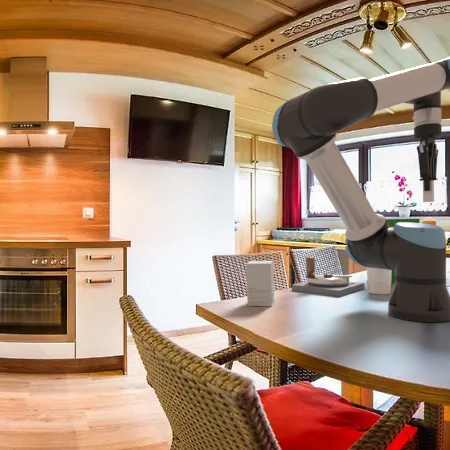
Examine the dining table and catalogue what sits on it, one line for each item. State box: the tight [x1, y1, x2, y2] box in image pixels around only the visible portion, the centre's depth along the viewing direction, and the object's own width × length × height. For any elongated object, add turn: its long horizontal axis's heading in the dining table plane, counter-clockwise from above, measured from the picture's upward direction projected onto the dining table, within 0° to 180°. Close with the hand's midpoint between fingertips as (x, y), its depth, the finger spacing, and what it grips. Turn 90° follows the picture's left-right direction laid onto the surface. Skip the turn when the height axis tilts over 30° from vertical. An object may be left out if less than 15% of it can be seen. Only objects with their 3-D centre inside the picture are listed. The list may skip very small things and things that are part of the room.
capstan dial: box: [305, 256, 353, 286], centre depth 136 cm, size 16×14×9 cm
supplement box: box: [245, 260, 275, 307], centre depth 116 cm, size 7×7×13 cm
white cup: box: [366, 267, 392, 295], centre depth 129 cm, size 8×8×10 cm
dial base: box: [291, 280, 366, 298], centre depth 136 cm, size 18×18×2 cm
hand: (428, 201), depth 120 cm, fingers closed
